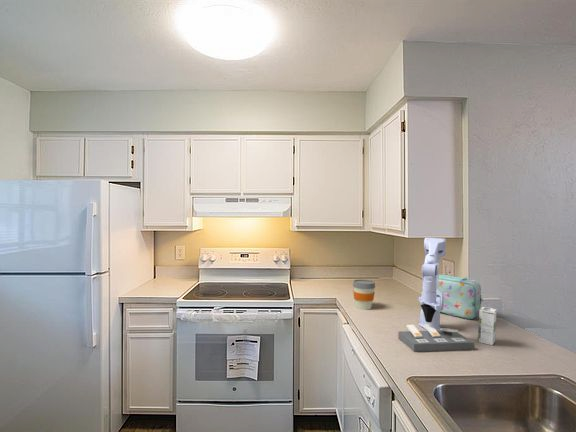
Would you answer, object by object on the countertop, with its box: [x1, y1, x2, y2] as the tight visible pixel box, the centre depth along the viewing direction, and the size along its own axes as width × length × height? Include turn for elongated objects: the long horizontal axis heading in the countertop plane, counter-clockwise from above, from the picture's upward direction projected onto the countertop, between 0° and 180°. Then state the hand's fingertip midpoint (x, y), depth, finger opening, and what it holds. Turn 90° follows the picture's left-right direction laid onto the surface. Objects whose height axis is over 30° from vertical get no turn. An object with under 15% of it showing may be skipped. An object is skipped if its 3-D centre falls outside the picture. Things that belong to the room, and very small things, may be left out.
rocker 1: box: [406, 324, 423, 338], centre depth 144 cm, size 8×3×1 cm, turn 7°
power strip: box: [397, 330, 475, 353], centre depth 142 cm, size 14×26×4 cm, turn 97°
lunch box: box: [438, 274, 484, 320], centre depth 184 cm, size 27×10×21 cm, turn 43°
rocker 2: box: [440, 327, 459, 333], centre depth 146 cm, size 8×3×1 cm, turn 7°
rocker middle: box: [424, 324, 441, 337], centre depth 145 cm, size 8×3×1 cm, turn 7°
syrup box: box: [477, 306, 498, 346], centre depth 145 cm, size 6×6×14 cm
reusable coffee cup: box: [352, 279, 376, 311], centre depth 194 cm, size 13×13×15 cm
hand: (428, 321), depth 147 cm, fingers closed
